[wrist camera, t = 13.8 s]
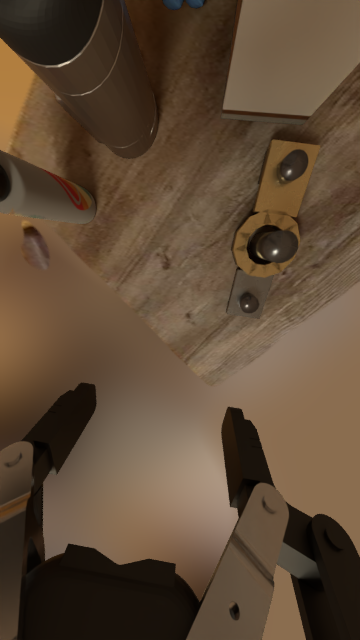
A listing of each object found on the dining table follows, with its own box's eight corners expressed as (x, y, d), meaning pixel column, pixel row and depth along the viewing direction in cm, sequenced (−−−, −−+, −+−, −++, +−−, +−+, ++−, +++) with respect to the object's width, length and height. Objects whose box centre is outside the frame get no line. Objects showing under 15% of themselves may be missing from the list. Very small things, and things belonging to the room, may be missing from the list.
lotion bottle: (87, 180, 31) (-70, 97, 13) (102, 217, 33) (-15, 191, 15) (58, 193, 32) (-123, 134, 14) (75, 228, 34) (-65, 216, 16)
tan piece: (216, 310, 38) (219, 318, 34) (254, 145, 28) (263, 129, 24) (266, 318, 38) (274, 327, 34) (323, 154, 27) (345, 140, 23)
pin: (246, 255, 34) (261, 260, 25) (252, 231, 32) (271, 228, 24) (268, 258, 34) (291, 265, 25) (276, 234, 32) (303, 232, 24)
